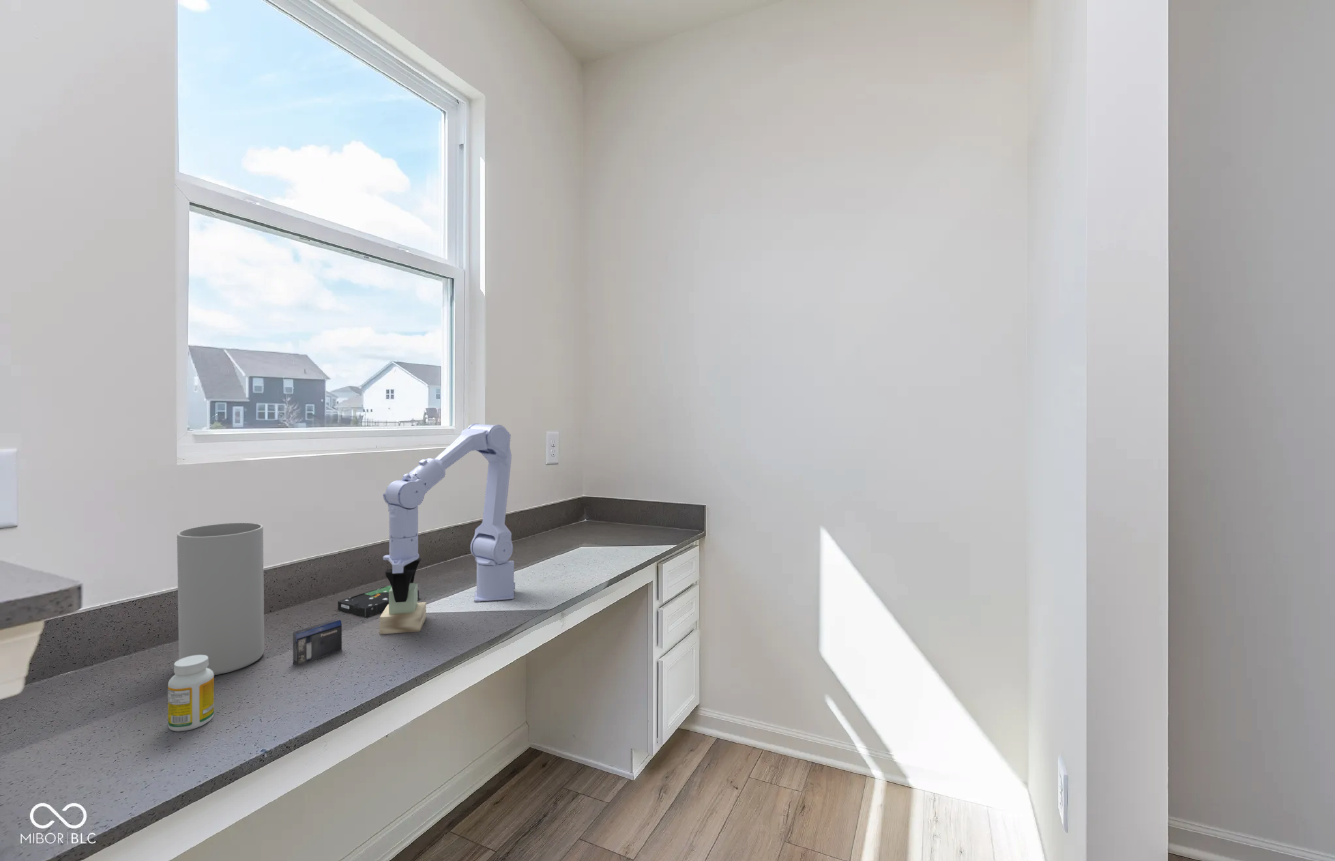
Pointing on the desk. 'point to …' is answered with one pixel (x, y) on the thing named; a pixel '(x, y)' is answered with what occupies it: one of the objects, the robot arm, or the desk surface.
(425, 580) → the desk surface
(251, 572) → the cylinder vase
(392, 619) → the birch block
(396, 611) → the sage block
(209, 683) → the supplement bottle
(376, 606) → the disk drive
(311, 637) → the mini dv tape
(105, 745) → the desk surface
